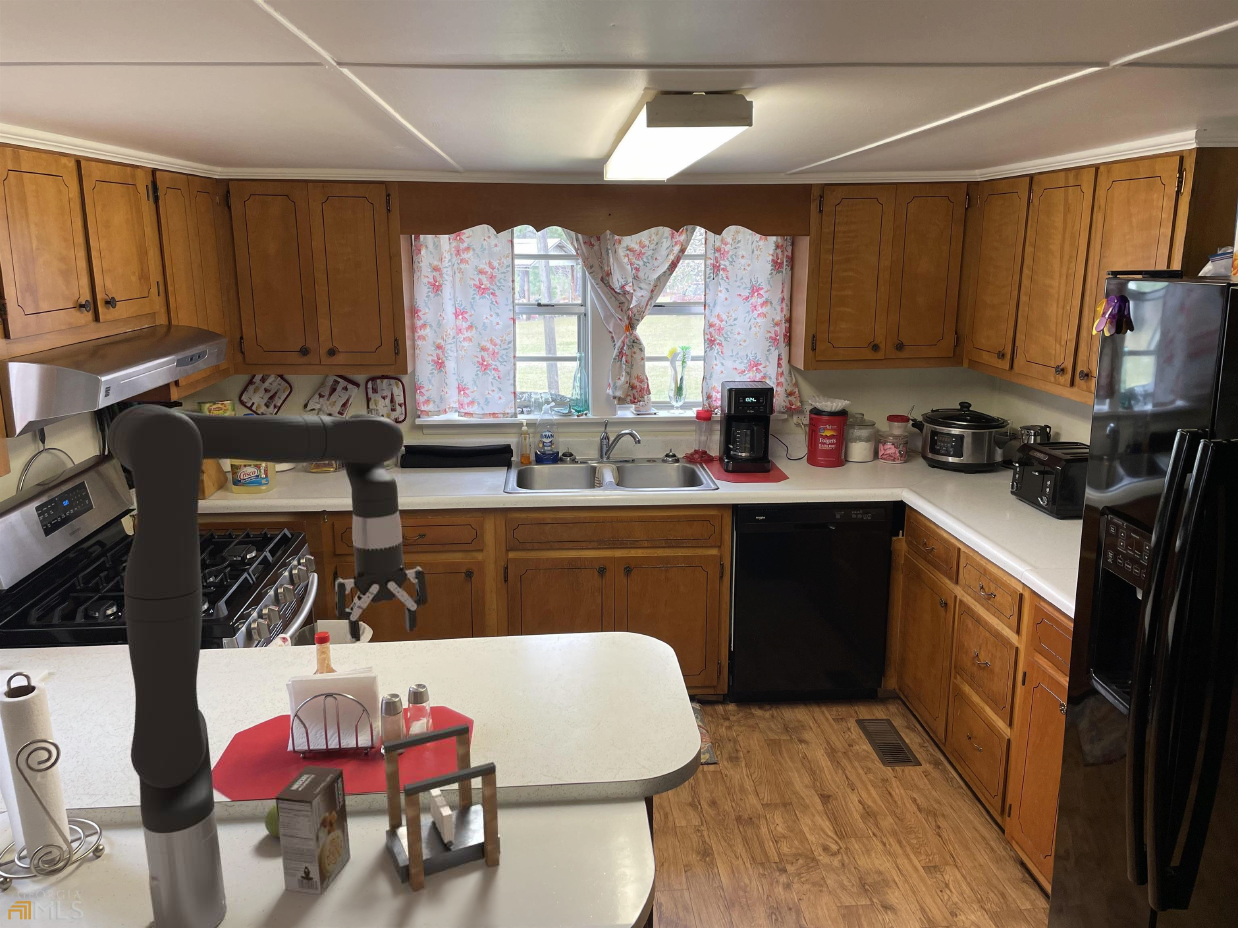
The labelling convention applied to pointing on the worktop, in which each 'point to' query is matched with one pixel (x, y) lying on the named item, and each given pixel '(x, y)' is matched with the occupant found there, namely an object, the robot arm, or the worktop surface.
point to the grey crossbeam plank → (449, 779)
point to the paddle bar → (442, 816)
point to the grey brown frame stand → (464, 802)
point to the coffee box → (313, 829)
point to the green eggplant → (272, 821)
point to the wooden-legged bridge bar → (425, 738)
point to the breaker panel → (441, 843)
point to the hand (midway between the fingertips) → (384, 634)
